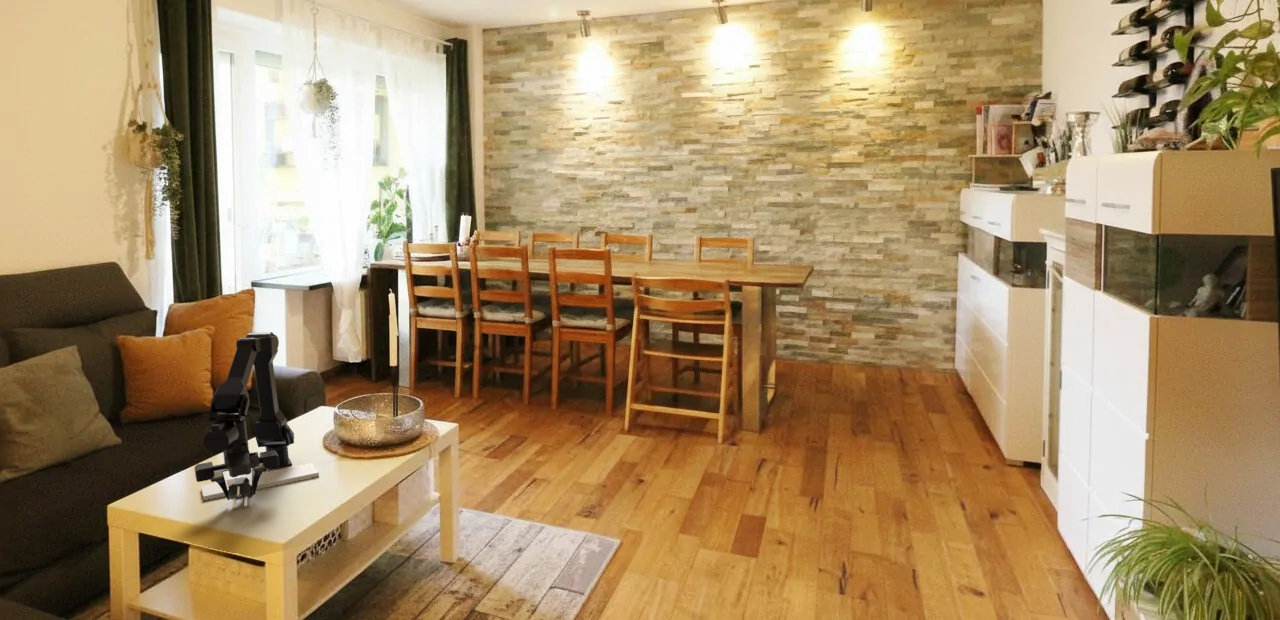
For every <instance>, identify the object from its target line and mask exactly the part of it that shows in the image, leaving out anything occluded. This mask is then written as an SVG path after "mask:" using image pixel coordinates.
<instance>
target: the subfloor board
mask: <svg viewBox="0 0 1280 620" xmlns="http://www.w3.org/2000/svg"><path fill="white" fill-rule="evenodd" d="M319 474H320V473H319V471H318V469H317V468H316V466H315V465H314V463H313V462H311V463H305V464H302V465H296V466H292V467H287V468H282V469H276V470H272V471H268V472H267V471H265V472H263V473H262V474H261V476H260V478H259V481H258V485H257V489H256V491H257V490H262V489H266V488H265V487H267V488H271V486H272V487H276V486H275V485H277V486H280V484H281V485H286V484H290V483H289V482H291V483H294V482H293V481H296V482H299V481H298V480H300V481H303V480H302V479H305V480H309V479H308V478H310V479H313V478H312V477H315V478H317V477H316V476H320V475H319ZM243 477H244V476H241V477H239V478H243ZM245 477H247V478H248V479H249V483H250V485H251V486H252V474H251V475H245ZM225 482H226V486H227V489H228V490H229V486H231V485H232V484H233V483H234V482H235V478H232V479H225ZM285 483H286V484H285ZM200 487H201V489H200V490H201V495H202V499H203V501H204V500H206V501H209V500H208V499H210V500H214V498H215V499H219V497H220V498H224V497H226V496H225V494H224V492H223V490H222V488H221V487H220V486H219V484H218V483H217V482H210V483H208V484H207V483H205V484H202V485H200ZM261 488H262V489H261Z"/></svg>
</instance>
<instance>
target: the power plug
mask: <svg viewBox="0 0 1280 620" xmlns="http://www.w3.org/2000/svg"><path fill="white" fill-rule="evenodd" d="M242 477H243V478H240V477H234V479H235V482H234V483H233V484H232V485H231V486H229V490H228V499H230V500H232V508H233V509H236V508H237V501H239V500H243V507H244V508H247V507H248V501H249V500H248V499H251V498H253V496H254V495H253V487H252V486H251V485H250V483H249V479H248V478H247V477H246V476H242ZM228 499H227V500H228Z"/></svg>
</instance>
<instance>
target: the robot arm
mask: <svg viewBox="0 0 1280 620" xmlns="http://www.w3.org/2000/svg"><path fill="white" fill-rule="evenodd" d="M279 344H280V341H279V337H278V336H277V335H276V334H274V333H273V332H270V331H269V332H266V331H265V332H248V333H247V334H246V336H243V337H239V338H238V339H237V341H236V345H235V346H236V347H235V348H236V350H235V353H234V356H233V358H232V359H233V360H232V362H231V365H230V368H229V371H228V375H227V377H226V379H225V381H224V382H223V383H221V384H219V385H218V387H217V389H216V391H215V392H214V395H213V396H212V398H211V400H210V408H209V413H208V418H207V423H208V424H212V425H210V431H209V432H207V433H206V434H205V436H204V438H203V446H204V447H205V449H207V451H208V452H209V453H210V452H211V453H213V454H220V453H223V462H224V463H220V464H216V465H213V461H209V462H205V463H204V462H203V463H197V464H196V465H195V466H194V472H195V473H194V475H195V480H196V482H197V483H200V482H205V481H206V482H207V481H211V482H210V483H216V482H217V483H218V484H219V486H220V487H221V488H222V490H223V492H224V494H225V496H224V497H225V498H226V499H227V501H230V500H231V499H228V489H227V486H226V482H225V481H226V479H225V476H224V472H229V477H231V478H238V477H239V476H244V475H245V476H249V475H250V474H251V475H252V487H253V496H255V495H256V493H257V490H256V489H257V485H258V481H259V478H260V476H261V474H262V473H266V472H267V471H268V470H272V469H278V468H284V467H289V466H292V465H293V462H292V461H291V458H290V456H289V446H291V445H293V444H295V433H294V431H293V430H292V429H291V427H290V425H288V422H287V417H286V416H285V414H283V413H282V411H281V410H280V409H279V408H280V407H279V402H278V393H277V387H276V386H277V385H276V377H275V370H274V359H276V356H277V354H278V353H279V349H278V348H279ZM253 368H254V374H255V382H256V383H255V384H256V389H257V397H258V404H259V417H258V419H257V421H256V422H255V424H254V428H255V429H254V437H255V441H256V443H257V448H264V447H265V451H261V452H258V451H254V452H250V449H249V439H248V430H247V423H246V422H247V421H246V417H247V415H248V410H249V406H250V404H251V403H250V402H251V401H250V394H249V392H248V390H247V387H248V382H249V379H250V375H251V372H252V370H253ZM213 423H214V424H213Z"/></svg>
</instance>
